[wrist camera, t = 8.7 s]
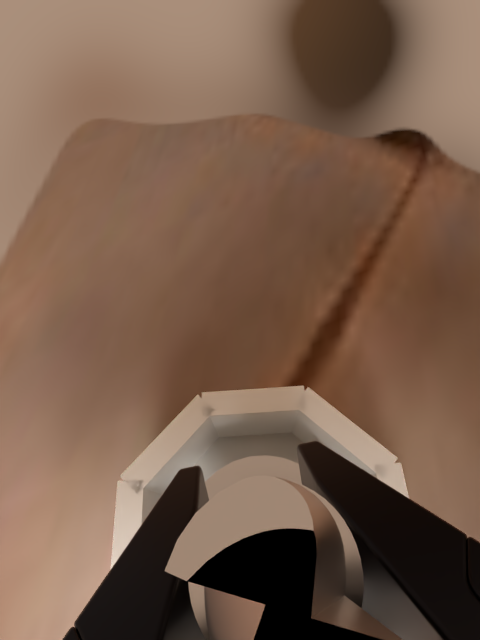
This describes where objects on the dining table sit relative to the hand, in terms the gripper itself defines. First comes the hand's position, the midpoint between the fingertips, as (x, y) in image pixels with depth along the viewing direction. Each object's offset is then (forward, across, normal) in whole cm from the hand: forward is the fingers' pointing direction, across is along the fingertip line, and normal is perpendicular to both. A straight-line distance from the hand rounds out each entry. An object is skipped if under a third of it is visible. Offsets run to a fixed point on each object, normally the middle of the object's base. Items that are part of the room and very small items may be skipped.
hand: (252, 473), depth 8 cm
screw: (+4, 0, +6) cm, 7 cm away
